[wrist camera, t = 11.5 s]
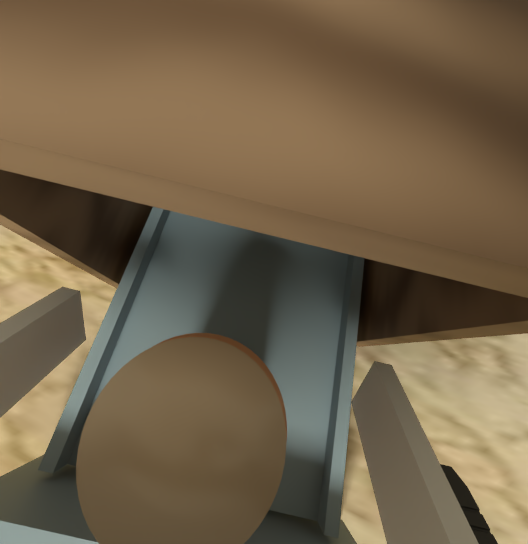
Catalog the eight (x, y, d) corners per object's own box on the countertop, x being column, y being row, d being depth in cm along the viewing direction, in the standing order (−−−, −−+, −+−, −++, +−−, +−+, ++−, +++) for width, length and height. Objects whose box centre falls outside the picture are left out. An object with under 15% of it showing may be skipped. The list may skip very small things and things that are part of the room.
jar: (276, 385, 17) (335, 429, 6) (219, 454, 15) (175, 667, 5) (221, 330, 17) (193, 290, 7) (162, 391, 16) (16, 454, 6)
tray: (339, 543, 16) (396, 650, 10) (37, 475, 15) (-81, 545, 10) (367, 241, 23) (409, 203, 17) (161, 190, 22) (135, 135, 17)
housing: (359, 346, 20) (727, 317, 5) (117, 289, 20) (-283, 69, 5) (377, 143, 28) (549, -122, 12) (200, 99, 27) (150, -229, 12)
